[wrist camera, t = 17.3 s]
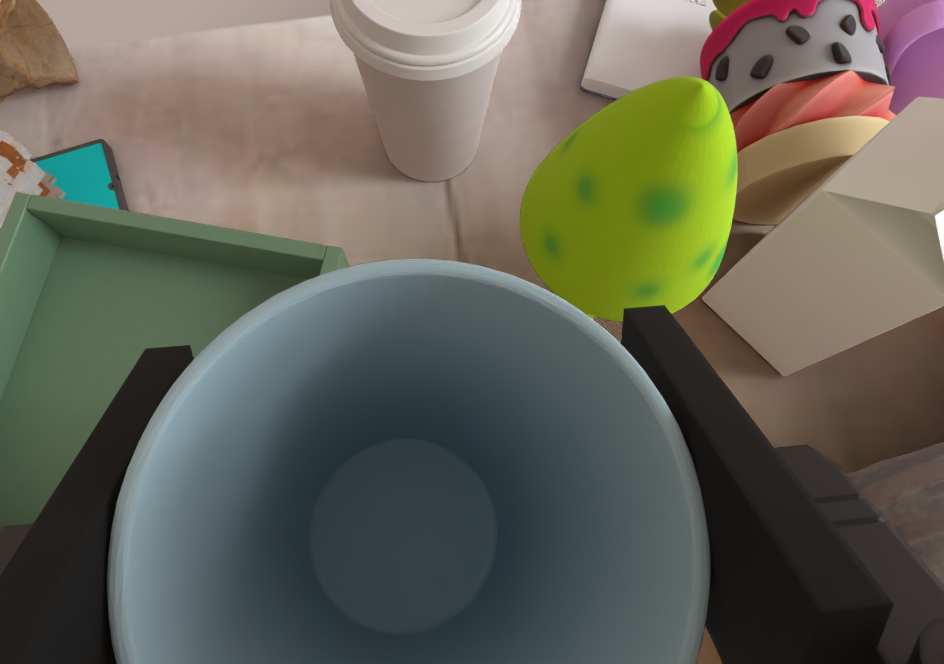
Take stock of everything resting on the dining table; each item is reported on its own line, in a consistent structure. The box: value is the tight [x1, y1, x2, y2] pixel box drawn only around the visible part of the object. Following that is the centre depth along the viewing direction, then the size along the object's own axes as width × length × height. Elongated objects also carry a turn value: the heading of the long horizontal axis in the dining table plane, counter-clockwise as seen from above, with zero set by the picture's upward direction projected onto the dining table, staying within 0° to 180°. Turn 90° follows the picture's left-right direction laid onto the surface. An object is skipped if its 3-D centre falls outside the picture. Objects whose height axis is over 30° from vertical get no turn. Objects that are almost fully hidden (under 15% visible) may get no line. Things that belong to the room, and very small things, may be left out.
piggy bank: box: [847, 442, 944, 585], centre depth 36 cm, size 18×16×14 cm
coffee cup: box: [330, 0, 521, 182], centre depth 39 cm, size 10×10×15 cm
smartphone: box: [30, 139, 128, 211], centre depth 43 cm, size 7×1×15 cm
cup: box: [107, 259, 710, 664], centre depth 14 cm, size 8×8×10 cm
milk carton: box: [702, 97, 944, 377], centre depth 35 cm, size 7×7×19 cm
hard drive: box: [581, 0, 717, 100], centre depth 49 cm, size 2×8×12 cm
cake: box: [700, 0, 897, 225], centre depth 42 cm, size 10×11×15 cm
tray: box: [0, 192, 349, 529], centre depth 25 cm, size 12×12×3 cm
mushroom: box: [520, 76, 738, 322], centre depth 31 cm, size 8×8×25 cm
